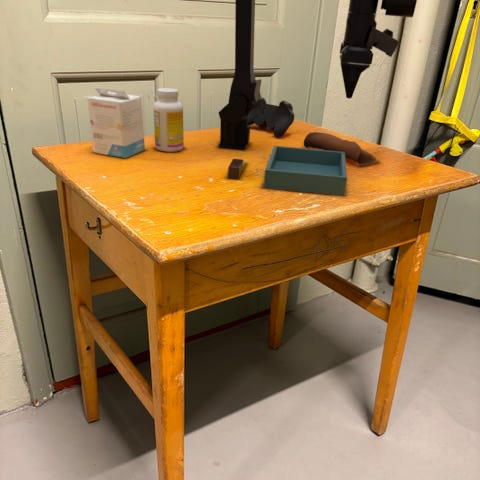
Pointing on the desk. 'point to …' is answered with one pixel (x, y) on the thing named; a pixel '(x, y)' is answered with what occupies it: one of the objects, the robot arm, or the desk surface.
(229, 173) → the brown and grey bar
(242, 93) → the robot arm
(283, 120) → the game controller
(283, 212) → the desk surface
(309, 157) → the cutlery tray
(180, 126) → the supplement bottle
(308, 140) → the sunglasses case
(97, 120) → the ink box
